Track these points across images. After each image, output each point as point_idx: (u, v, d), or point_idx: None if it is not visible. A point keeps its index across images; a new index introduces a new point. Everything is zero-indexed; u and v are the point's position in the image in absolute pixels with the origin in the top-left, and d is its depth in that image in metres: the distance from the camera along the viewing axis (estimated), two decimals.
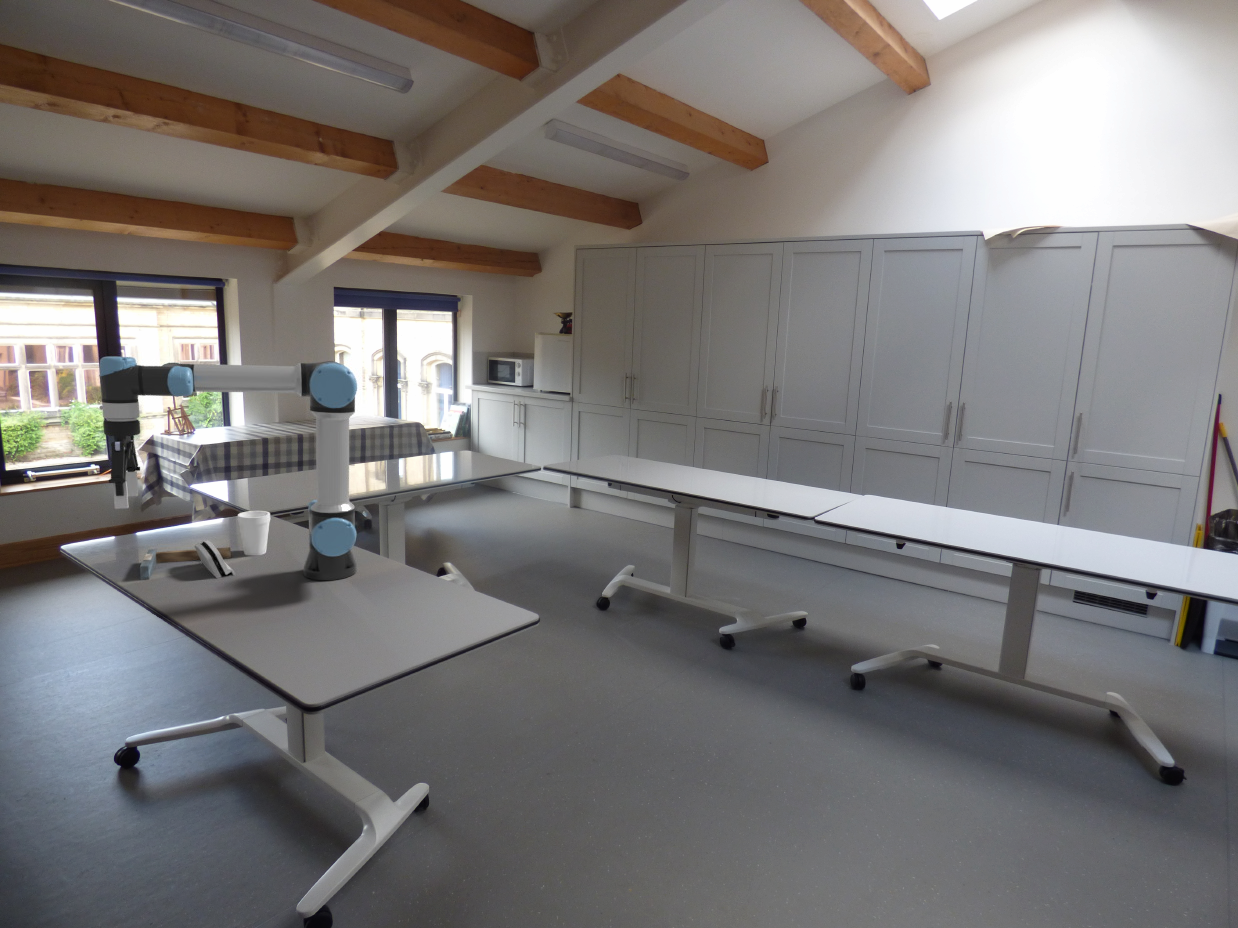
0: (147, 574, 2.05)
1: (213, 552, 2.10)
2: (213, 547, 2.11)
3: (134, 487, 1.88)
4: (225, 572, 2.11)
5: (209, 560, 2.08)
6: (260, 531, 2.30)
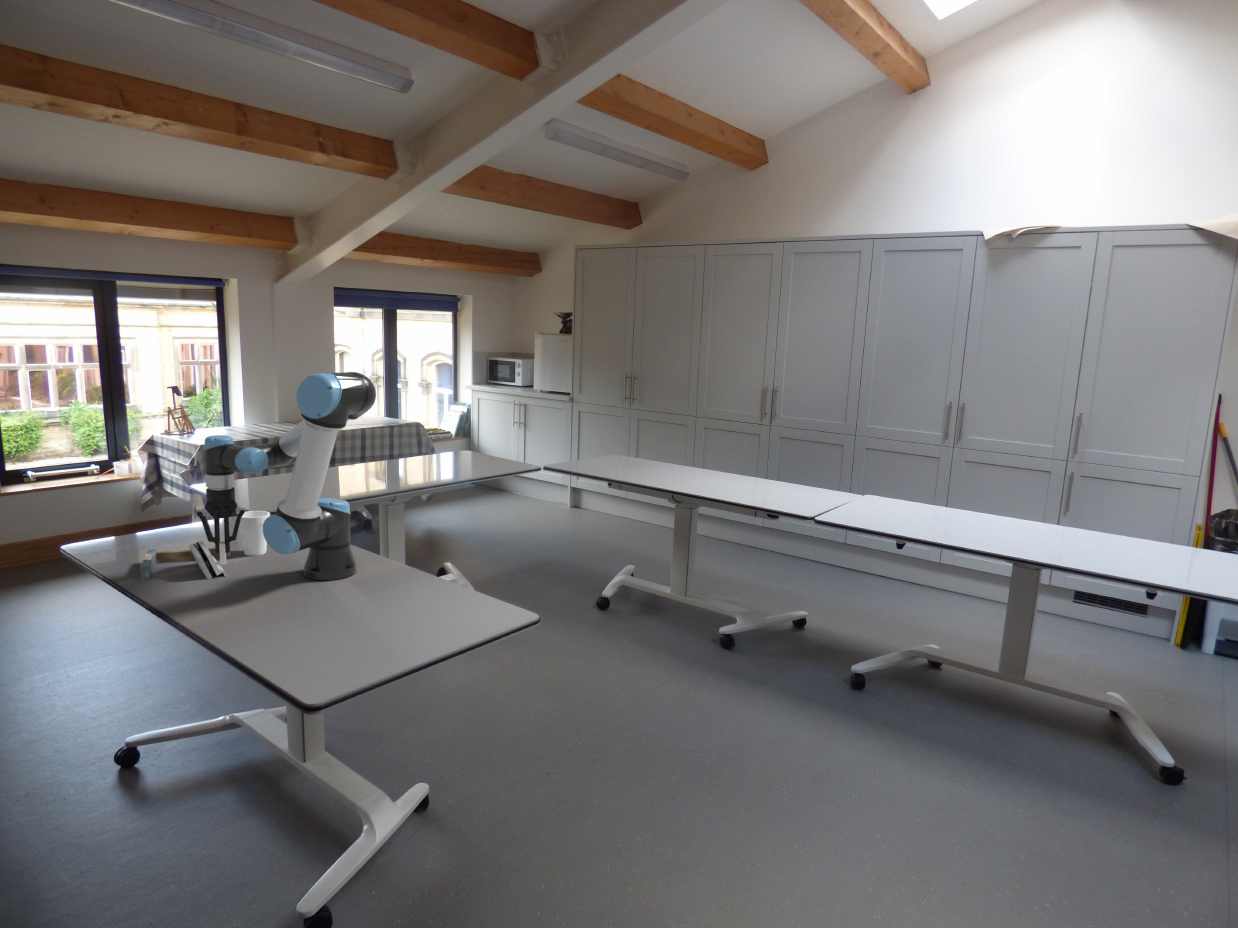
0: (147, 574, 2.05)
1: (204, 552, 2.09)
2: (205, 547, 2.10)
3: None
4: (216, 573, 2.10)
5: (200, 560, 2.07)
6: (260, 531, 2.30)
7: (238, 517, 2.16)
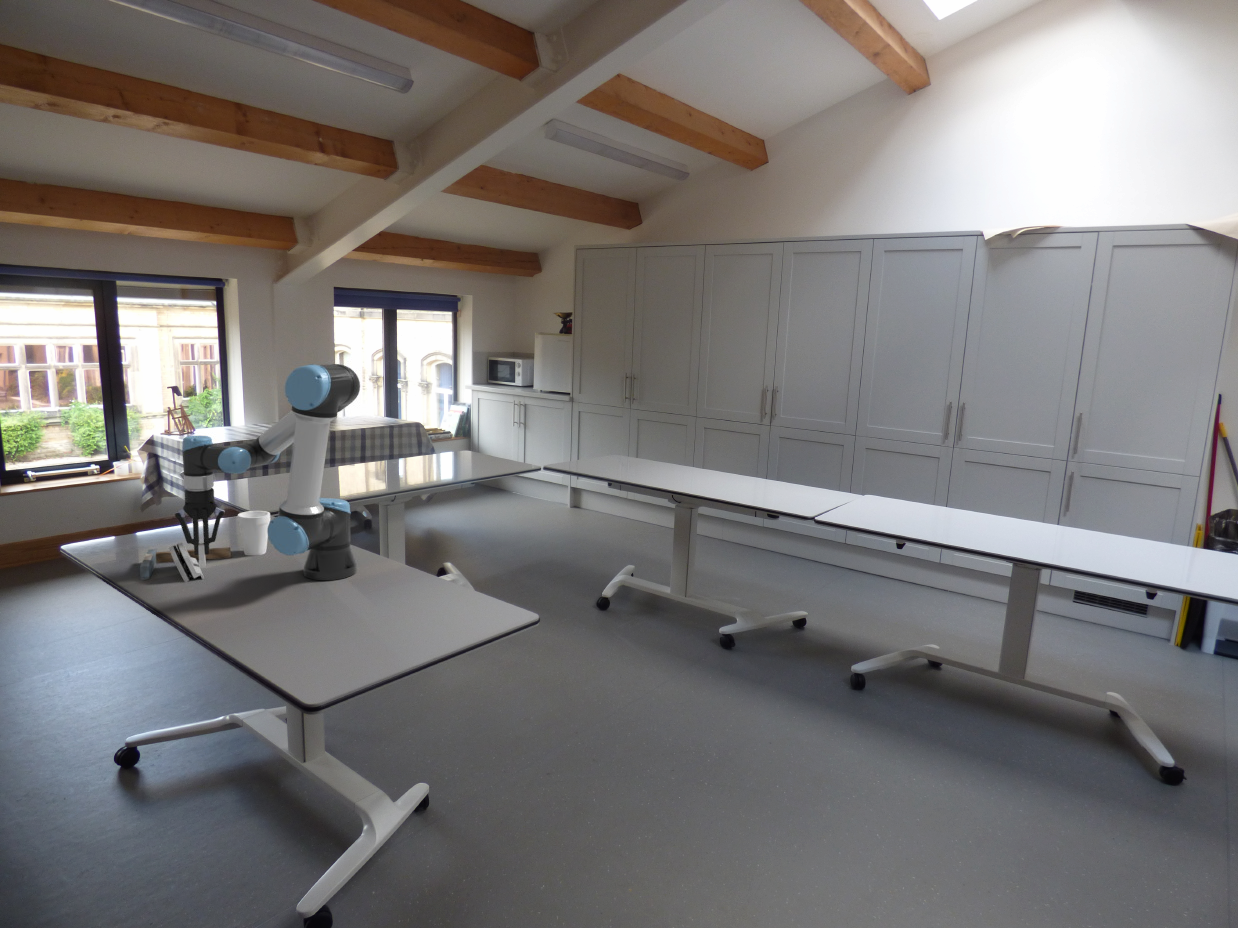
0: (147, 574, 2.05)
1: (181, 555, 2.06)
2: (183, 550, 2.07)
3: None
4: (193, 576, 2.07)
5: (176, 563, 2.04)
6: (260, 531, 2.30)
7: (217, 518, 2.13)
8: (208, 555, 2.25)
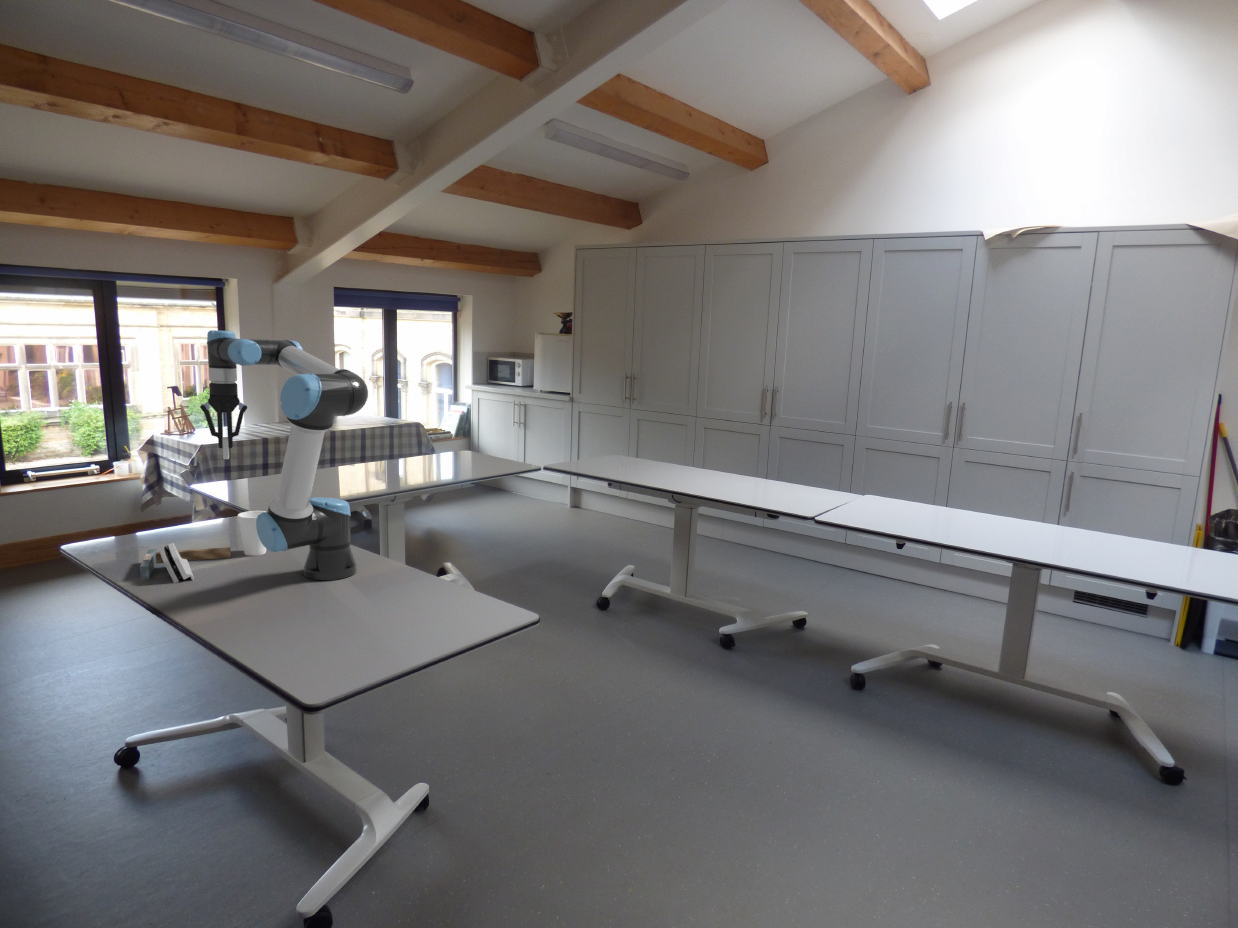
0: (147, 574, 2.05)
1: (171, 556, 2.04)
2: (173, 551, 2.06)
3: None
4: (183, 577, 2.05)
5: (166, 564, 2.03)
6: None
7: (241, 412, 2.20)
8: (208, 555, 2.25)
